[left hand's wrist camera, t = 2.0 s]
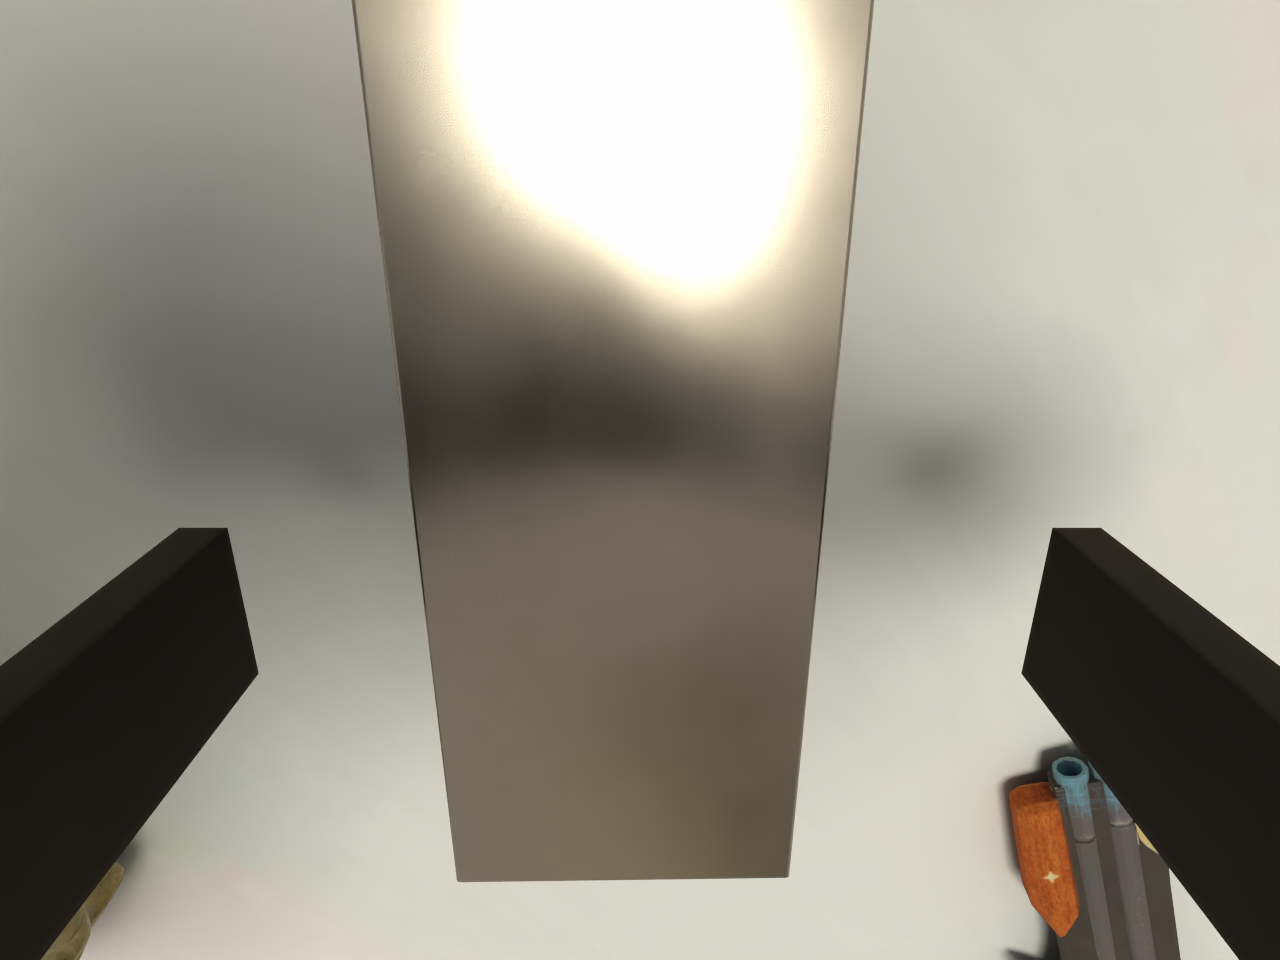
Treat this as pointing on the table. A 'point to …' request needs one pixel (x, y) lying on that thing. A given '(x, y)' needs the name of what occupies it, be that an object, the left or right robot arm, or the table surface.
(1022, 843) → the toy gun
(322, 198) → the table surface
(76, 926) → the sculpture
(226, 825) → the table surface
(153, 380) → the table surface
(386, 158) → the bar
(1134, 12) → the table surface
